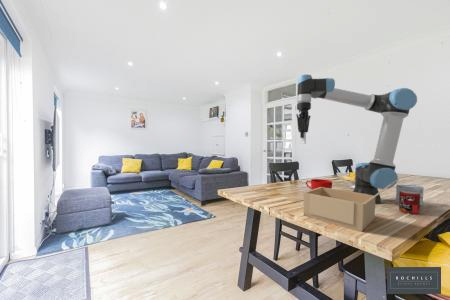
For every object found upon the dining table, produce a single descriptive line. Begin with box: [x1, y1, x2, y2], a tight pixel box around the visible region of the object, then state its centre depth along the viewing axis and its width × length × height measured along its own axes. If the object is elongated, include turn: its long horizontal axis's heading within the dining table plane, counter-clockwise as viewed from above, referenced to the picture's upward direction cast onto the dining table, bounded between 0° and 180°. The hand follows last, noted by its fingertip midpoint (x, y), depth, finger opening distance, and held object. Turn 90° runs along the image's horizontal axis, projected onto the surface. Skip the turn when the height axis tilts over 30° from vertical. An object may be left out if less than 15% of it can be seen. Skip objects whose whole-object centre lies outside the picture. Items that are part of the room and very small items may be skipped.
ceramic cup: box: [305, 178, 333, 190], centre depth 140 cm, size 13×17×10 cm
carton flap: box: [364, 178, 400, 204], centre depth 85 cm, size 12×19×1 cm
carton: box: [302, 187, 376, 232], centre depth 97 cm, size 24×21×11 cm
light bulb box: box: [395, 183, 424, 206], centre depth 123 cm, size 11×7×11 cm, turn 84°
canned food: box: [398, 189, 421, 215], centre depth 107 cm, size 8×8×11 cm
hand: (302, 143), depth 121 cm, fingers closed
